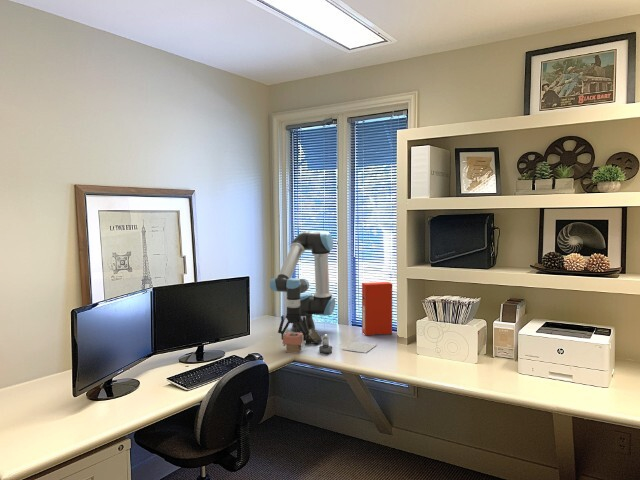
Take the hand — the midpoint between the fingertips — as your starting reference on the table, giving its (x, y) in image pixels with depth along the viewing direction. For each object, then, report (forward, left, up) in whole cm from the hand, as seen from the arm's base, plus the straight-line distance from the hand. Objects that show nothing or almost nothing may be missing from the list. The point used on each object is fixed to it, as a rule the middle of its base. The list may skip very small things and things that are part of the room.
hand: (293, 346), depth 266 cm
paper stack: (-7, +39, -3) cm, 40 cm away
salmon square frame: (0, 0, +2) cm, 2 cm away
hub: (0, +18, -3) cm, 18 cm away
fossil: (-17, +8, -3) cm, 19 cm away
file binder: (-45, +43, -3) cm, 62 cm away
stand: (0, 0, -3) cm, 3 cm away
